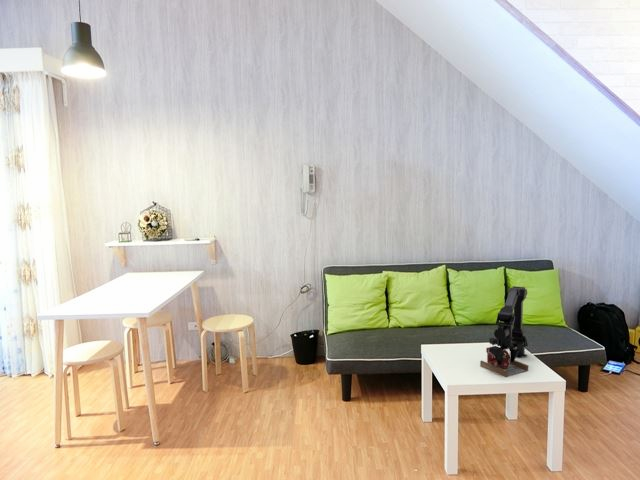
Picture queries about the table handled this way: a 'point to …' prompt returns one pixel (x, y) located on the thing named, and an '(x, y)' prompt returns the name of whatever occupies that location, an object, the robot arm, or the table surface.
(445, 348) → the table surface
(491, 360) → the toy fire truck
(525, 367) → the walnut channel
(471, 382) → the table surface
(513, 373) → the pad
